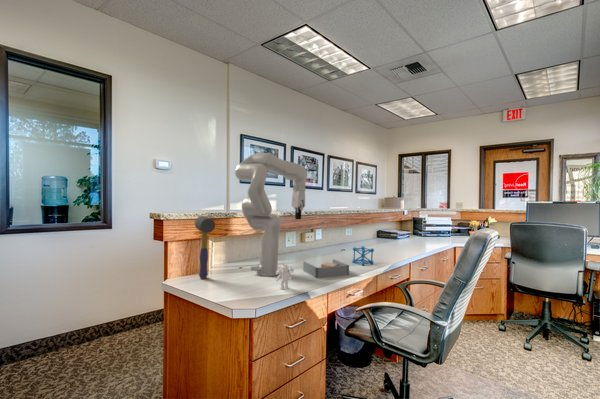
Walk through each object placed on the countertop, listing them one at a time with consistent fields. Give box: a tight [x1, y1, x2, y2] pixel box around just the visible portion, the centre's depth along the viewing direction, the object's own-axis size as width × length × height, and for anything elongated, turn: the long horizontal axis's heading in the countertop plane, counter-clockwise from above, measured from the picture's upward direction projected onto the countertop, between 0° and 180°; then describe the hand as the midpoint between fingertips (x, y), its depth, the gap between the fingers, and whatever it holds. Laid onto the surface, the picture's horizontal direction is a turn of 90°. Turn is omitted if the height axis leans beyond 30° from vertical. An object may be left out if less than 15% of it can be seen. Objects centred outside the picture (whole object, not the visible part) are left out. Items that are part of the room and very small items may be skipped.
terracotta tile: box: [320, 261, 338, 267], centre depth 172 cm, size 7×7×4 cm
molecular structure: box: [351, 246, 375, 267], centre depth 193 cm, size 10×10×10 cm
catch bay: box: [302, 258, 350, 279], centre depth 167 cm, size 20×15×5 cm
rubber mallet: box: [194, 216, 216, 279], centre depth 149 cm, size 12×8×30 cm, turn 33°
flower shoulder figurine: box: [275, 262, 295, 291], centre depth 138 cm, size 9×4×12 cm, turn 128°
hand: (298, 219), depth 186 cm, fingers closed
